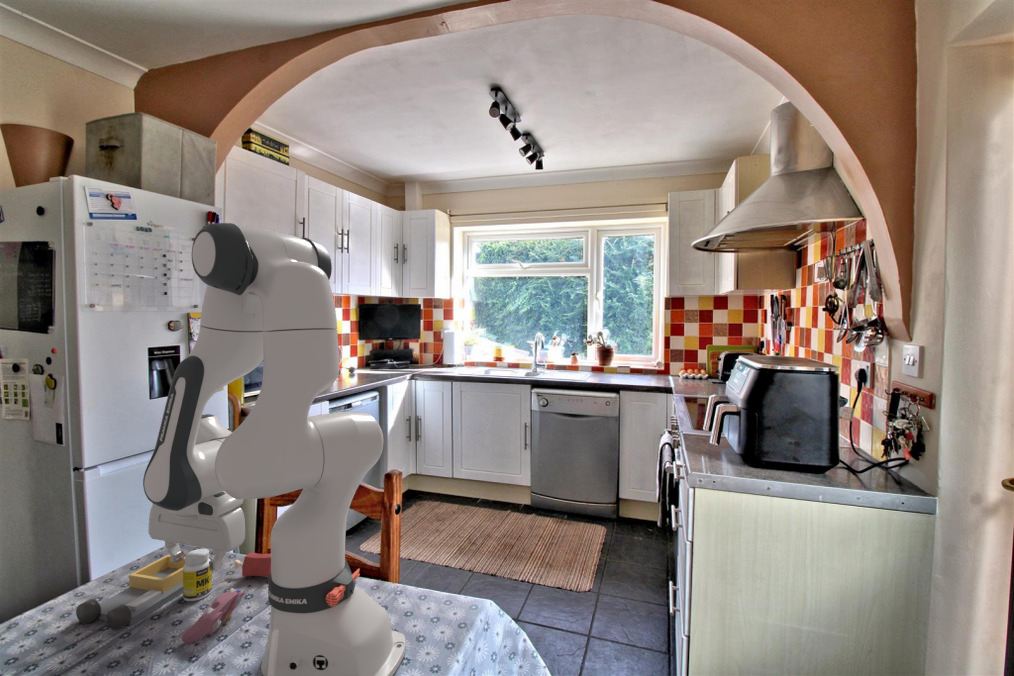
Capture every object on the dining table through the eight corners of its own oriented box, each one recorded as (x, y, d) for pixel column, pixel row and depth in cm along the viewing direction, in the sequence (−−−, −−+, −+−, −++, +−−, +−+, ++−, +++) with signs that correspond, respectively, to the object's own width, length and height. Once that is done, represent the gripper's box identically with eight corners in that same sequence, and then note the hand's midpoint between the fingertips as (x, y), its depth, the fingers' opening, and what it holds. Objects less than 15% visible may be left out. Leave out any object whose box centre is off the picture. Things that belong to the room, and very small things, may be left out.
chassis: (214, 573, 101) (214, 557, 101) (122, 631, 82) (121, 611, 82) (174, 567, 103) (173, 551, 103) (76, 622, 85) (75, 602, 85)
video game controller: (200, 656, 79) (217, 620, 78) (176, 643, 79) (194, 607, 79) (237, 618, 89) (253, 586, 88) (216, 606, 89) (231, 575, 88)
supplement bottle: (197, 603, 91) (196, 560, 90) (177, 600, 92) (175, 558, 91) (217, 589, 95) (216, 548, 95) (197, 586, 96) (196, 546, 96)
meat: (224, 579, 98) (228, 553, 99) (239, 573, 103) (242, 549, 104) (281, 581, 97) (284, 555, 98) (292, 575, 102) (295, 551, 103)
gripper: (138, 496, 92) (139, 564, 93) (224, 509, 87) (225, 581, 88) (168, 484, 98) (169, 549, 99) (250, 496, 93) (251, 564, 94)
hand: (196, 564), depth 94 cm, fingers open, 8 cm apart
